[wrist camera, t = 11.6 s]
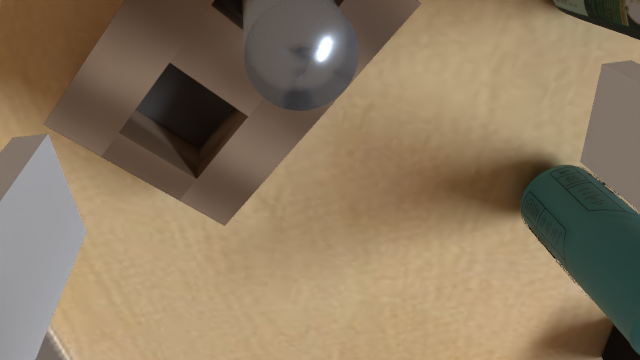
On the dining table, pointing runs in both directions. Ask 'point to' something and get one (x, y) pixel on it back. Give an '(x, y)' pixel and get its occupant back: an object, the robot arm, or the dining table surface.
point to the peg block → (195, 98)
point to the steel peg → (298, 51)
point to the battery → (619, 348)
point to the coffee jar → (606, 14)
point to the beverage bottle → (590, 240)
